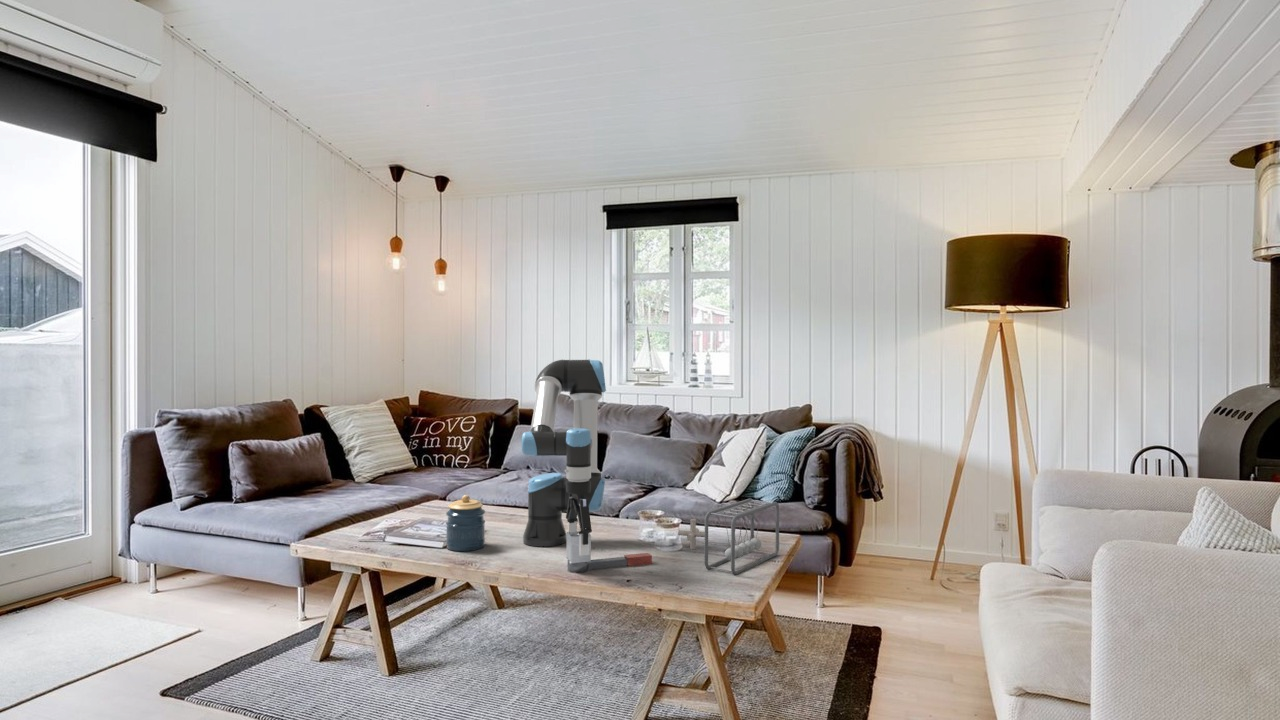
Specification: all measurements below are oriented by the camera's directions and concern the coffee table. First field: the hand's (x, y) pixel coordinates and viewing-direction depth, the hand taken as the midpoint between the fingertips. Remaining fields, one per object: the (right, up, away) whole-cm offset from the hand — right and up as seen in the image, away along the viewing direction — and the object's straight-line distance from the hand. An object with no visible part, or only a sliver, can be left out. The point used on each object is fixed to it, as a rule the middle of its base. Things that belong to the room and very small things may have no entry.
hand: (578, 549), depth 224 cm
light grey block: (0, -3, 0) cm, 3 cm away
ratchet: (+10, -6, +4) cm, 12 cm away
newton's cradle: (+52, -7, +9) cm, 53 cm away
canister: (-40, -6, +26) cm, 48 cm away
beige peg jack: (+37, -6, +24) cm, 45 cm away
